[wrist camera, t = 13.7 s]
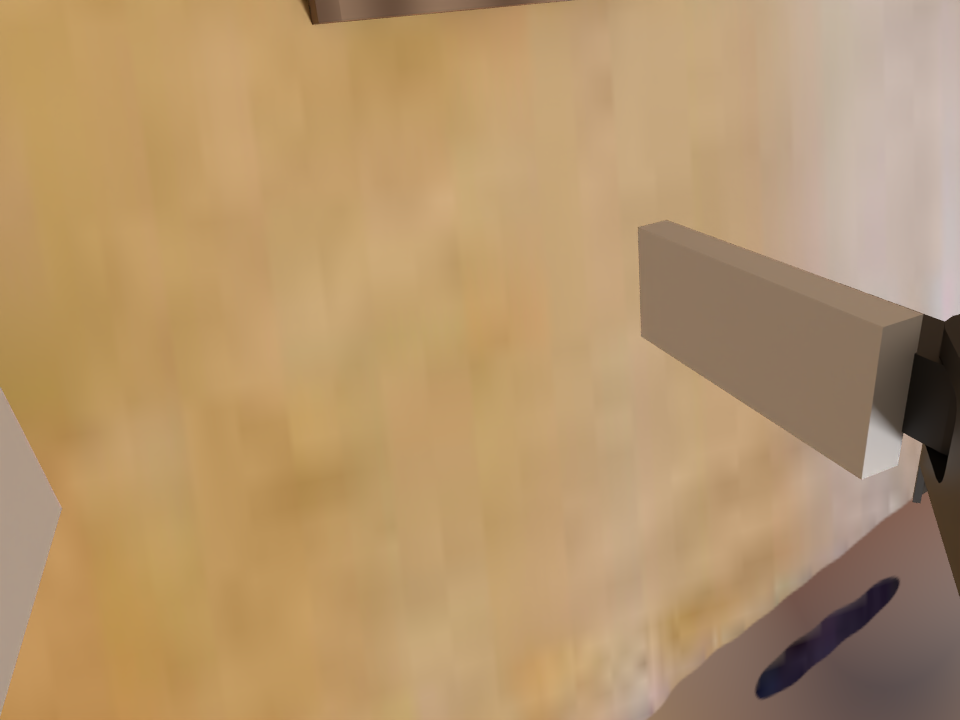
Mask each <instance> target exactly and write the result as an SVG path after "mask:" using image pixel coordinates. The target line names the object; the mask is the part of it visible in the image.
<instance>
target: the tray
mask: <svg viewBox="0 0 960 720" xmlns="http://www.w3.org/2000/svg"><path fill="white" fill-rule="evenodd" d="M559 1H570V0H308V3H309V9H310V14H311V20H312V25H314V24H325V23H335V22H346V21H357V20H367V19H378V18H389V17H399V16H410V15H421V14H431V13H442V12H453V11H463V10H474V9H485V8H495V7H506V6H517V5H527V4H538V3H549V2H559Z"/></svg>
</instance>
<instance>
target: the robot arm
mask: <svg viewBox="0 0 960 720" xmlns="http://www.w3.org/2000/svg"><path fill="white" fill-rule="evenodd" d="M638 248H639V280H640V313H641V336H642V337H643V338H645V339H646V340H648V341H649V342H651V343H652V344H654V345H655V346H657V347H658V348H660V349H662V350H663V351H665V352H666V353H668V354H669V355H671V356H672V357H674V358H675V359H677V360H678V361H680V362H682V363H683V364H685V365H686V366H688V367H689V368H691V369H692V370H694V371H695V372H697V373H698V374H700V375H701V376H703V377H705V378H706V379H708V380H709V381H711V382H712V383H714V384H715V385H717V386H718V387H720V388H721V389H723V390H725V391H726V392H728V393H729V394H731V395H732V396H734V397H735V398H737V399H738V400H740V401H741V402H743V403H744V404H746V405H748V406H749V407H751V408H752V409H754V410H755V411H757V412H758V413H760V414H761V415H763V416H764V417H766V418H768V419H769V420H771V421H772V422H774V423H775V424H777V425H778V426H780V427H781V428H783V429H784V430H786V431H788V432H789V433H791V434H792V435H794V436H795V437H797V438H798V439H800V440H801V441H803V442H804V443H806V444H807V445H809V446H811V447H812V448H814V449H815V450H817V451H818V452H820V453H821V454H823V455H824V456H826V457H827V458H829V459H831V460H832V461H834V462H835V463H837V464H838V465H840V466H841V467H843V468H844V469H846V470H847V471H849V472H850V473H852V474H854V475H855V476H857V477H858V478H860V479H861V480H862V479H865V478H867V477H870V476H872V475H875V474H877V473H880V472H882V471H885V470H887V469H890V468H893V467H895V466H898V462H899V456H900V450H901V444H902V438H903V433H905V434H907V435H908V436H910V437H912V438H914V439H916V440H918V441H919V442H921V443H923V444H922V450H921V455H920V461H919V466H918V472H917V477H916V482H915V488H914V493H913V502H916V503H920V502H921V497H922V494H924V493H925V492H927V491H928V494H929V497H930V501H931V504H932V507H933V510H934V514H935V517H936V520H937V524H938V527H939V530H940V534H941V537H942V540H943V543H944V547H945V550H946V553H947V557H948V560H949V563H950V567H951V570H952V573H953V577H954V580H955V583H956V586H957V589H958V593H959V596H960V314H959V315H955V316H952V317H951V318H949V319H948V320H947V321H945V322H944V321H941V320H939V319H936V318H933V317H931V316H928V315H925V314H922V313H920V312H917V311H914V310H911V309H909V308H906V307H903V306H901V305H898V304H895V303H892V302H890V301H886V300H884V299H881V298H879V297H876V296H873V295H871V294H867V293H865V292H862V291H860V290H857V289H854V288H851V287H849V286H846V285H843V284H841V283H837V282H835V281H832V280H829V279H826V278H824V277H821V276H818V275H815V274H813V273H810V272H807V271H805V270H802V269H799V268H796V267H794V266H791V265H788V264H785V263H783V262H780V261H777V260H775V259H772V258H769V257H766V256H764V255H761V254H758V253H755V252H753V251H750V250H747V249H745V248H742V247H739V246H736V245H734V244H731V243H728V242H726V241H723V240H720V239H717V238H715V237H712V236H709V235H706V234H704V233H701V232H698V231H696V230H693V229H690V228H687V227H685V226H682V225H679V224H676V223H674V222H671V221H668V220H665V221H661V222H657V223H653V224H649V225H645V226H641V227H638ZM61 510H62V507H61V505H60V503H59V502H58V500H57V498H56V496H55V494H54V492H53V490H52V488H51V486H50V484H49V482H48V480H47V478H46V476H45V474H44V472H43V470H42V468H41V466H40V464H39V462H38V460H37V458H36V456H35V454H34V452H33V450H32V448H31V446H30V444H29V442H28V440H27V438H26V436H25V434H24V432H23V430H22V428H21V426H20V424H19V423H18V421H17V419H16V417H15V415H14V413H13V411H12V409H11V407H10V405H9V403H8V401H7V399H6V397H5V395H4V393H3V391H2V389H1V387H0V715H1V711H2V708H3V705H4V701H5V698H6V695H7V691H8V688H9V685H10V681H11V678H12V674H13V671H14V668H15V664H16V661H17V658H18V654H19V651H20V648H21V644H22V641H23V637H24V634H25V631H26V627H27V624H28V621H29V617H30V614H31V611H32V607H33V604H34V600H35V597H36V594H37V590H38V587H39V584H40V580H41V577H42V574H43V570H44V567H45V563H46V560H47V557H48V553H49V550H50V547H51V543H52V540H53V537H54V533H55V530H56V526H57V523H58V520H59V516H60V513H61Z"/></svg>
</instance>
